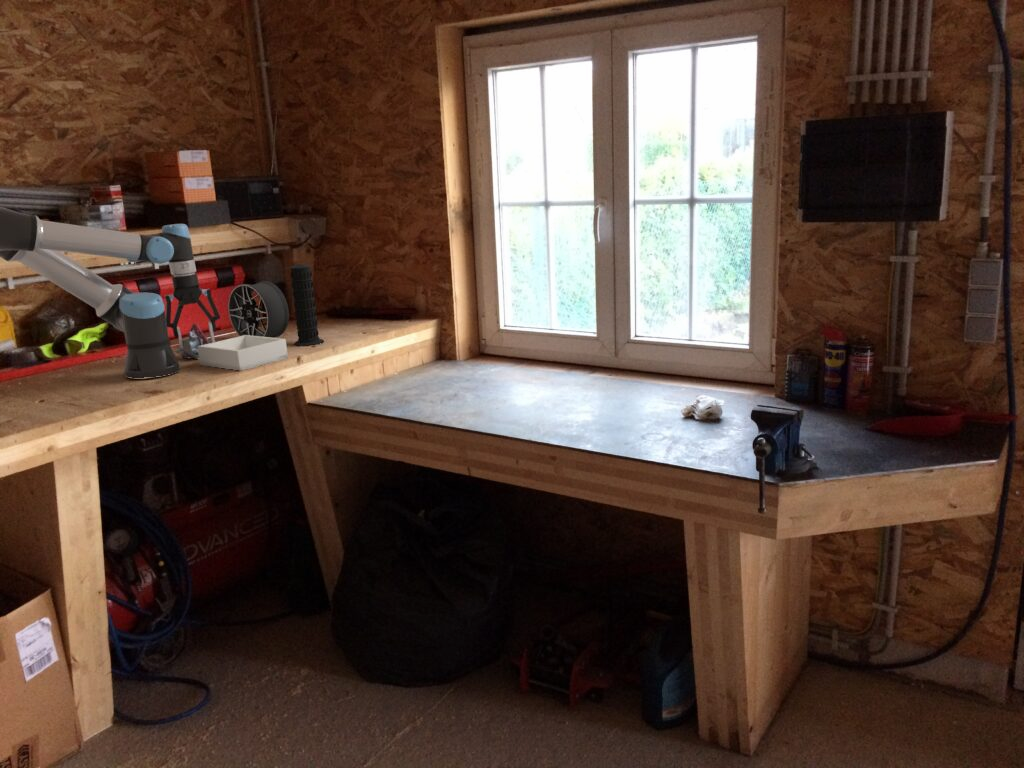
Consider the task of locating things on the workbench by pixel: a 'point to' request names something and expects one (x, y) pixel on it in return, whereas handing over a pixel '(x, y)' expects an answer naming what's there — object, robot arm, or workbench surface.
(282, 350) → the bin
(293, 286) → the handle grip
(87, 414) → the workbench surface
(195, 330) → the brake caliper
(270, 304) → the wheel rim
